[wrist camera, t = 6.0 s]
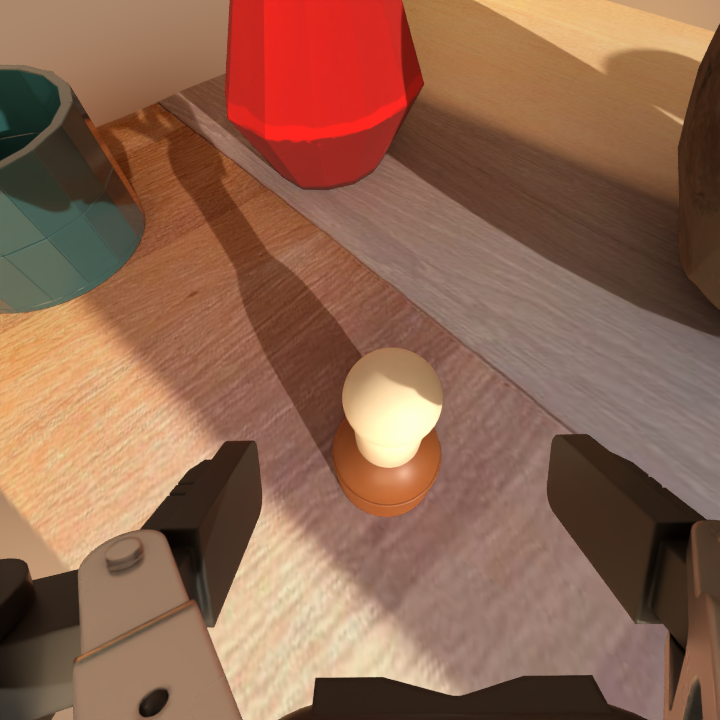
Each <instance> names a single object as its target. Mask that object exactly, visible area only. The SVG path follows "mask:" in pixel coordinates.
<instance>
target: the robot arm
mask: <svg viewBox="0 0 720 720" xmlns="http://www.w3.org/2000/svg"><path fill="white" fill-rule="evenodd" d="M547 496H548V501H549V504H550V507H551V509H552V511H553V512H554V514H555V515H556V516H557V518H558V519H559V520H560V522H561V523H562V525H563V526H564V527H565V529H566V530H567V531H568V533H569V534H570V535H571V537H572V538H573V539H574V541H575V542H576V544H577V545H578V546H579V548H580V549H581V550H582V552H583V553H584V554H585V556H586V557H587V558H588V560H589V561H590V563H591V564H592V565H593V567H594V568H595V569H596V571H597V572H598V573H599V575H600V576H601V578H602V579H603V580H604V582H605V583H606V584H607V586H608V587H609V588H610V590H611V591H612V592H613V594H614V595H615V597H616V598H617V599H618V601H619V602H620V603H621V605H622V606H623V607H624V609H625V610H626V611H627V613H628V614H629V616H630V617H631V618H632V620H633V621H634V622H635V624H664V625H665V627H666V628H667V629H668V634H667V639H666V644H665V674H664V719H663V720H720V521H719V520H706V519H705V518H704V517H703V516H701V515H700V514H699V513H697V512H696V511H695V510H693V509H692V508H691V507H690V506H688V505H687V504H686V503H684V502H683V501H682V500H681V499H679V498H678V497H677V496H675V495H674V494H673V493H671V492H670V491H669V490H668V489H666V488H662V485H661V484H660V483H658V482H657V481H656V480H655V479H653V478H652V477H649V476H648V474H647V473H646V472H644V471H643V470H642V469H640V468H639V467H638V466H636V465H635V464H634V463H633V462H631V461H628V460H626V459H624V458H622V457H620V456H618V455H616V454H614V453H612V452H610V451H608V450H607V449H606V448H605V447H603V446H602V445H601V444H600V443H598V442H597V441H596V440H595V439H593V438H592V437H591V436H589V435H587V434H565V435H556V436H555V437H554V438H553V440H552V445H551V453H550V463H549V472H548V481H547ZM261 506H262V486H261V477H260V468H259V459H258V450H257V445H256V443H255V441H226V442H225V443H224V444H223V445H222V446H221V448H220V449H219V450H218V452H217V453H216V454H215V456H214V457H213V458H212V460H204V461H202V462H201V463H199V464H198V465H196V466H195V467H193V468H192V469H190V470H189V471H188V472H187V473H186V474H185V475H184V477H183V478H182V479H181V480H180V481H179V483H178V485H176V486H175V488H174V489H173V490H172V491H171V492H170V496H167V497H166V499H165V500H164V501H163V502H162V503H161V505H160V506H159V507H158V508H157V509H156V511H155V512H154V513H153V514H152V516H151V517H150V518H149V519H148V520H147V522H146V523H145V524H144V525H143V526H142V528H141V529H140V530H136V531H132V532H128V533H125V534H121V535H119V536H117V537H114V538H112V539H110V540H108V541H106V542H105V543H103V544H101V545H100V546H98V547H97V548H96V549H94V550H93V551H92V552H91V553H90V554H89V555H88V556H87V557H86V558H85V559H84V560H83V562H82V564H81V565H80V568H79V569H78V570H74V571H70V572H65V573H61V574H57V575H53V576H49V577H45V578H40V579H37V580H32V578H31V575H30V572H29V569H28V565H27V563H25V562H24V561H22V560H20V559H1V560H0V720H51V719H52V718H53V716H54V715H55V713H56V712H58V711H61V710H64V709H67V708H70V707H73V716H74V717H73V720H242V717H241V714H240V712H239V709H238V707H237V704H236V702H235V699H234V697H233V694H232V691H231V689H230V686H229V684H228V681H227V679H226V676H225V673H224V671H223V668H222V666H221V663H220V661H219V658H218V656H217V653H216V650H215V648H214V645H213V643H212V640H211V638H210V635H209V632H208V630H207V627H214V626H215V624H216V621H217V619H218V617H219V614H220V612H221V609H222V607H223V604H224V602H225V599H226V597H227V594H228V592H229V589H230V587H231V585H232V582H233V580H234V577H235V575H236V572H237V570H238V567H239V565H240V562H241V560H242V557H243V555H244V552H245V550H246V548H247V545H248V543H249V540H250V538H251V535H252V533H253V530H254V528H255V525H256V523H257V520H258V518H259V515H260V512H261ZM279 720H647V719H645V718H643V717H641V716H639V715H637V714H635V713H632V712H629V711H627V710H624V709H621V708H618V707H616V706H613V705H609V704H607V702H606V700H605V698H604V696H603V694H602V692H601V691H600V689H599V687H598V685H597V683H596V681H595V680H594V678H593V676H592V675H568V676H522V677H519V678H516V679H512V680H509V681H506V682H503V683H500V684H497V685H494V686H491V687H488V688H485V689H481V690H478V691H475V692H472V693H469V694H466V695H462V696H451V695H447V694H443V693H439V692H436V691H432V690H428V689H425V688H421V687H417V686H413V685H410V684H406V683H402V682H399V681H395V680H391V679H387V678H384V677H358V678H316V679H315V687H314V696H313V704H312V705H310V706H307V707H304V708H301V709H299V710H296V711H294V712H292V713H290V714H288V715H286V716H284V717H282V718H281V719H279Z"/></svg>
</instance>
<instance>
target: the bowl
mask: <svg viewBox="0 0 720 720" xmlns="http://www.w3.org/2000/svg"><path fill="white" fill-rule="evenodd" d="M144 227H145V216H144V211H143V208H142V206H141V204H140V203H139V199H138V197H137V195H136V193H135V192H134V190H133V189H132V187H131V185H130V184H129V182H128V180H127V179H126V177H125V175H124V174H123V172H122V170H121V169H120V167H119V166H118V164H117V162H116V161H115V159H114V157H113V156H112V154H111V152H110V151H109V149H108V147H107V146H106V144H105V142H104V141H103V139H102V138H101V136H100V134H99V133H98V131H97V129H96V128H95V126H94V124H93V123H92V121H91V119H90V118H89V116H88V115H87V113H86V111H85V110H84V108H83V106H82V105H81V103H80V101H79V100H78V98H77V96H76V95H75V93H74V92H73V90H72V88H71V87H70V85H69V84H68V83H67V82H66V81H64V80H63V79H62V78H60V77H59V76H58V75H56V74H55V73H54V72H52V71H48V70H44V69H39V68H35V67H31V66H27V65H0V313H23V312H31V311H36V310H41V309H45V308H49V307H53V306H56V305H59V304H61V303H64V302H67V301H70V300H72V299H74V298H76V297H78V296H81V295H83V294H84V293H86V292H88V291H90V290H92V289H93V288H95V287H97V286H98V285H100V284H101V283H103V282H104V281H106V280H107V279H108V278H109V277H111V276H112V275H113V274H114V273H116V272H117V271H118V270H119V269H120V268H121V267H122V266H123V265H124V264H125V263H126V262H127V260H128V259H129V258H130V257H131V256H132V254H133V253H134V251H135V250H136V248H137V247H138V245H139V243H140V240H141V238H142V236H143V232H144Z"/></svg>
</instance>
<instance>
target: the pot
mask: <svg viewBox="0 0 720 720" xmlns="http://www.w3.org/2000/svg"><path fill="white" fill-rule="evenodd" d="M678 173H679V228H678V243H679V253H680V261H681V263H682V266H683V268H684V270H685V273H686V275H687V277H688V278H689V279H690V280H691V281H692V282H693V283H694V284H696V286H697V287H698V288H699V289H700V290H701V291H702V293H703V294H704V295H705V296H706V297H707V299H708V300H709V301H710V302H711V303H712V304H713V305H715V306H716V307H717V308H718V309H719V310H720V25H719V26H718V28H717V30H716V32H715V34H714V36H713V38H712V40H711V43H710V45H709V47H708V49H707V51H706V53H705V56H704V58H703V60H702V62H701V64H700V66H699V69H698V73H697V76H696V80H695V83H694V87H693V90H692V94H691V97H690V101H689V105H688V108H687V112H686V116H685V120H684V125H683V129H682V133H681V137H680V141H679V146H678Z"/></svg>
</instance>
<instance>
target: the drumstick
mask: <svg viewBox="0 0 720 720" xmlns="http://www.w3.org/2000/svg"><path fill="white" fill-rule="evenodd" d="M342 401H343V408H344V412H345V415H346V417H345V418H344V419H343V421H342V422H341V424H340V426H339V428H338V430H337V432H336V434H335V437H334V441H333V448H332V458H333V464H334V468H335V471H336V474H337V477H338V480H339V483H340V486H341V488H342V490H343V492H344V493H345V495H346V496H347V498H348V499H349V500H350V501H351V502H352V503H353V504H354V505H355V506H356V507H358V508H359V509H361V510H363V511H365V512H367V513H369V514H372V515H376V516H383V517H390V516H397V515H401V514H403V513H406V512H408V511H409V510H411V509H413V508H414V507H415V506H417V505H418V504H419V503H420V502H421V501H422V500H423V498H424V497H425V496H426V494H427V492H428V491H429V489H430V487H431V486H432V484H433V482H434V481H435V479H436V477H437V474H438V472H439V468H440V464H441V447H440V442H439V439H438V436H437V433H436V430H435V428H434V425H435V424H436V422H437V420H438V418H439V416H440V413H441V408H442V402H443V396H442V388H441V384H440V381H439V378H438V376H437V374H436V372H435V371H434V369H433V368H432V366H431V365H430V364H429V363H428V362H427V361H426V360H425V359H423V358H422V357H421V356H419V355H418V354H416V353H414V352H412V351H409V350H406V349H402V348H382V349H378V350H375V351H373V352H370V353H368V354H367V355H365V356H364V357H362V358H361V359H360V360H358V361H357V363H356V364H355V365H354V366H353V367H352V369H351V370H350V372H349V373H348V375H347V377H346V380H345V383H344V387H343V394H342Z"/></svg>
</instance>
